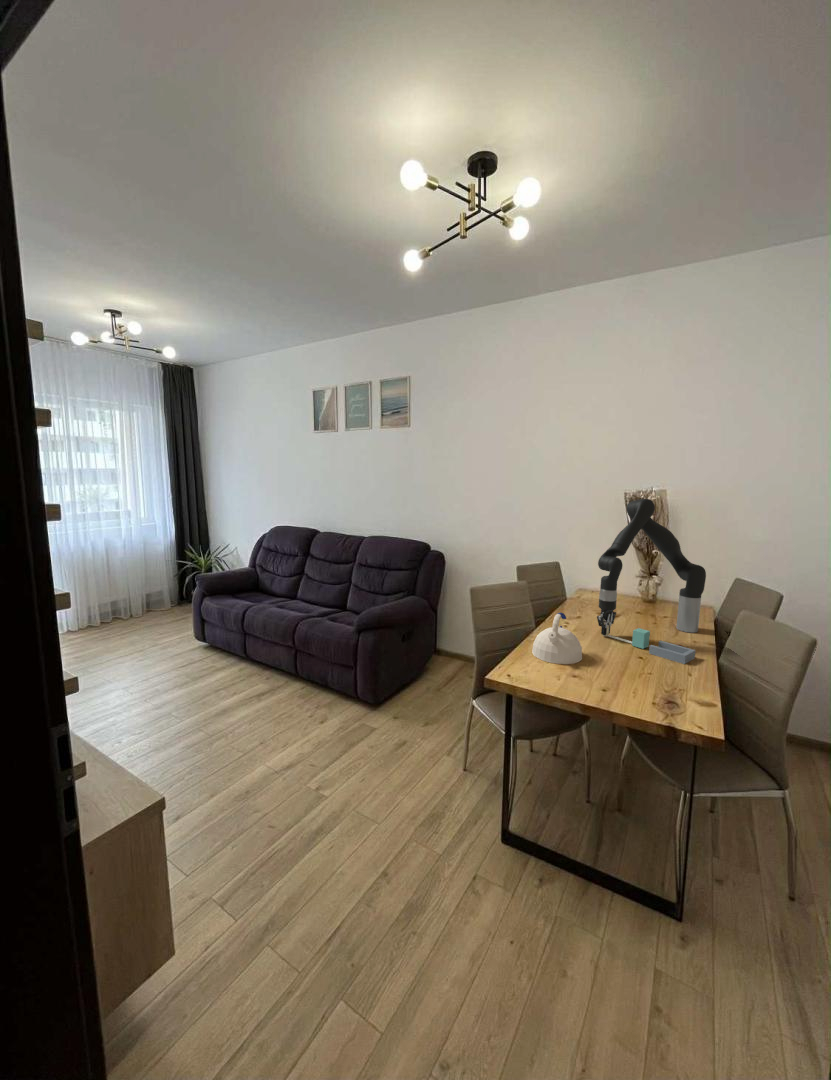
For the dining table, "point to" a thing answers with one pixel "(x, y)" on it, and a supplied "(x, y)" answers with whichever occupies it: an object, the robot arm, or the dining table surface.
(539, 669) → the dining table surface
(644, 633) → the tethered block
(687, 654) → the lane
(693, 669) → the dining table surface
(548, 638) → the kettle
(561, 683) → the dining table surface
